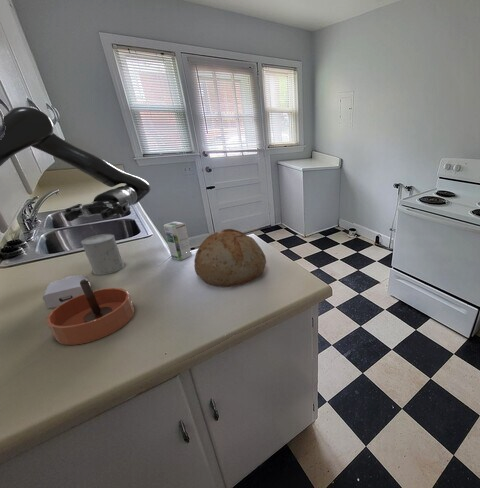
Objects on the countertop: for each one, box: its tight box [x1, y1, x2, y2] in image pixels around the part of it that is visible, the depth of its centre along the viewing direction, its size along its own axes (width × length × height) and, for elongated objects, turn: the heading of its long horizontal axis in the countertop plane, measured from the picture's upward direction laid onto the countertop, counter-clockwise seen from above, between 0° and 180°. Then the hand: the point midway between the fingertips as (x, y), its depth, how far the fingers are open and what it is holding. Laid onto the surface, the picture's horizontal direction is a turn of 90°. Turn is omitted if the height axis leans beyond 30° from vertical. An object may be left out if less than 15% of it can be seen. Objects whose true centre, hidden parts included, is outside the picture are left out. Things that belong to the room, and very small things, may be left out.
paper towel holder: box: [80, 278, 113, 323], centre depth 73 cm, size 6×6×12 cm
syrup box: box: [163, 221, 193, 261], centre depth 109 cm, size 6×6×14 cm
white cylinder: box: [80, 233, 125, 276], centre depth 100 cm, size 10×10×12 cm
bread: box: [193, 228, 267, 288], centre depth 97 cm, size 26×23×15 cm
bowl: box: [46, 287, 135, 346], centre depth 74 cm, size 17×17×6 cm
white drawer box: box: [42, 274, 89, 309], centre depth 87 cm, size 5×9×15 cm
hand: (85, 216), depth 74 cm, fingers open, 8 cm apart
